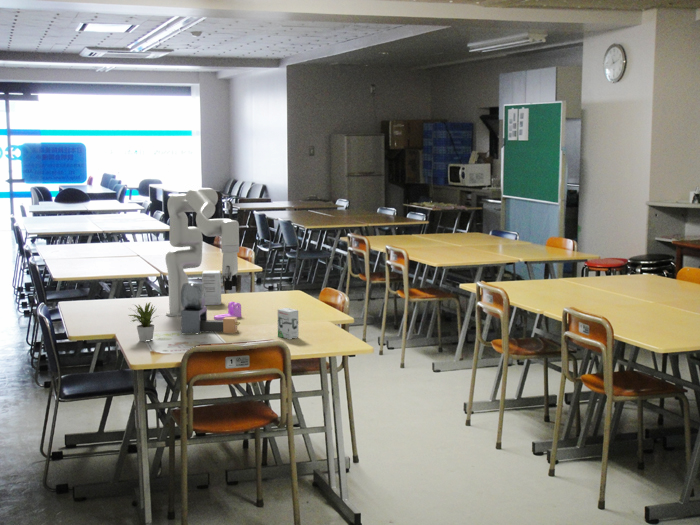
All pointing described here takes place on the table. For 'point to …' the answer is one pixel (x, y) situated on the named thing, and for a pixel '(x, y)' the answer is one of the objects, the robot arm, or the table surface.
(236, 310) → the bracket
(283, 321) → the ink box
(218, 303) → the supplement box
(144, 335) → the house plant
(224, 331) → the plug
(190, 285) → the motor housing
